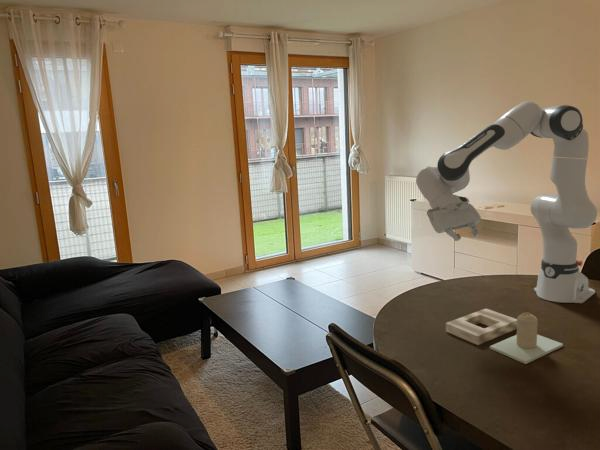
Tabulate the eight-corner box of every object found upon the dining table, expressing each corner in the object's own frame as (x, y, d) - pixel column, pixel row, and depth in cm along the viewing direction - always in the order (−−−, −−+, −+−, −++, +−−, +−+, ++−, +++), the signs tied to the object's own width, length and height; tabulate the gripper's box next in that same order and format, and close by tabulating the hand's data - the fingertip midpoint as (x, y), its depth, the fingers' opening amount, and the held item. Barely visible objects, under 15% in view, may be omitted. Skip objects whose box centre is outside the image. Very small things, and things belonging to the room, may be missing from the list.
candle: (538, 349, 138) (540, 317, 136) (519, 348, 139) (520, 317, 137) (533, 341, 143) (534, 310, 141) (514, 340, 145) (515, 310, 142)
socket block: (485, 316, 165) (485, 308, 165) (518, 328, 154) (518, 319, 154) (445, 331, 156) (445, 322, 155) (477, 345, 145) (477, 336, 144)
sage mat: (526, 332, 151) (526, 330, 151) (562, 346, 141) (563, 343, 141) (489, 348, 142) (489, 346, 142) (525, 364, 132) (525, 361, 132)
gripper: (429, 204, 158) (451, 237, 152) (470, 197, 168) (493, 227, 162) (420, 215, 163) (441, 248, 156) (460, 207, 173) (482, 237, 166)
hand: (468, 237), depth 159 cm, fingers open, 8 cm apart
